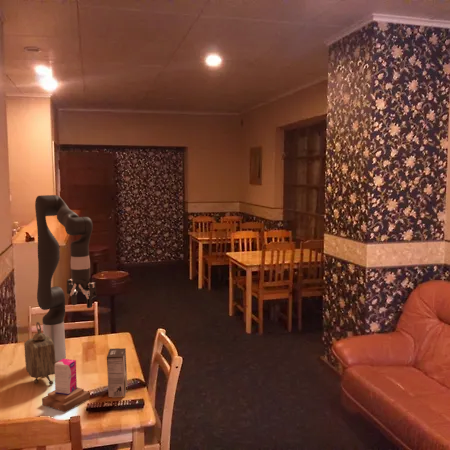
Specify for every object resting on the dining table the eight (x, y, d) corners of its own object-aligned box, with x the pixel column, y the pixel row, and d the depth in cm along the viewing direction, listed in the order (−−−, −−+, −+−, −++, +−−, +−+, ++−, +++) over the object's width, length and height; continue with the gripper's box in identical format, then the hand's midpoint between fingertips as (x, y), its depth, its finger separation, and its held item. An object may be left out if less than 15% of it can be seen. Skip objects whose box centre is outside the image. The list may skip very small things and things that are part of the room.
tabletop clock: (56, 385, 202) (53, 325, 200) (33, 391, 197) (29, 329, 195) (48, 373, 214) (44, 316, 212) (26, 378, 210) (22, 320, 207)
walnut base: (42, 404, 186) (41, 394, 185) (67, 392, 196) (66, 382, 195) (65, 411, 180) (65, 401, 179) (89, 398, 190) (89, 388, 190)
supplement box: (69, 395, 184) (67, 365, 183) (55, 393, 185) (53, 363, 184) (77, 388, 189) (76, 359, 188) (63, 387, 191) (62, 358, 190)
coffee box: (111, 387, 199) (109, 348, 197) (127, 386, 200) (126, 347, 198) (108, 398, 190) (106, 356, 188) (125, 397, 191) (123, 356, 189)
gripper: (60, 266, 202) (62, 305, 204) (86, 270, 195) (87, 311, 197) (74, 263, 208) (76, 301, 210) (100, 266, 201) (101, 306, 203)
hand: (81, 306), depth 203 cm, fingers open, 8 cm apart
